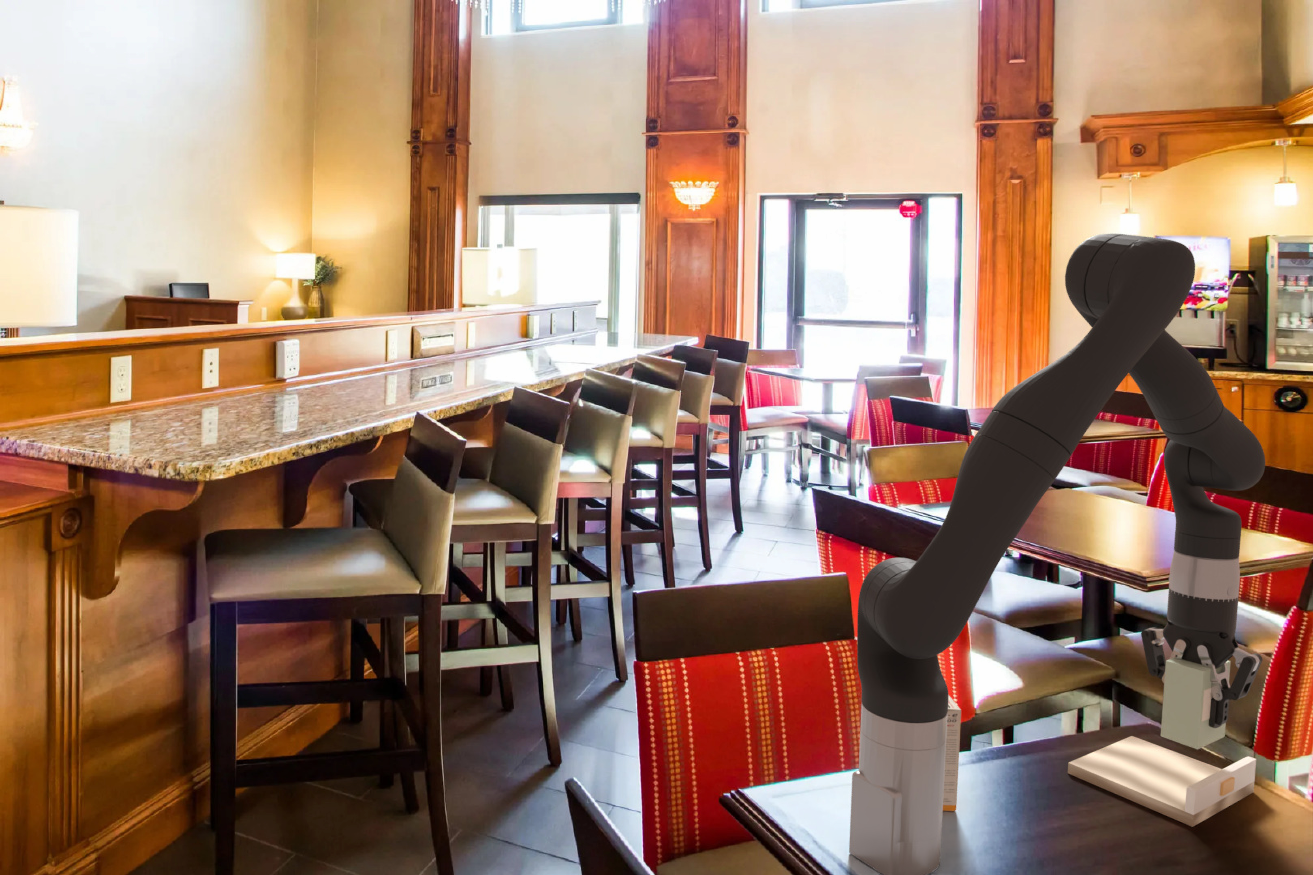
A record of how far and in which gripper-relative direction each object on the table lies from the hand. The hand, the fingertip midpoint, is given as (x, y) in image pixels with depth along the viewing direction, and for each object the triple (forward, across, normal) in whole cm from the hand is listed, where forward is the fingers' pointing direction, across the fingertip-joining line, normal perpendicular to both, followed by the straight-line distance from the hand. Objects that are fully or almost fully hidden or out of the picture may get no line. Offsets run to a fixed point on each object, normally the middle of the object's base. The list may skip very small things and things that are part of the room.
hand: (1193, 718), depth 114 cm
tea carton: (+2, 0, 0) cm, 2 cm away
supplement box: (+10, +18, +29) cm, 36 cm away
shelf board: (+10, +4, 0) cm, 11 cm away
